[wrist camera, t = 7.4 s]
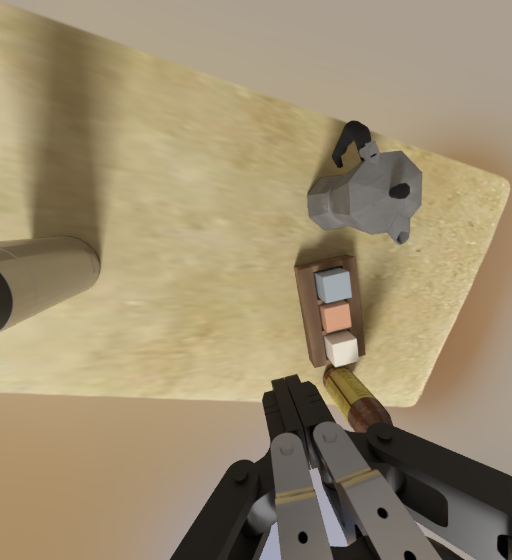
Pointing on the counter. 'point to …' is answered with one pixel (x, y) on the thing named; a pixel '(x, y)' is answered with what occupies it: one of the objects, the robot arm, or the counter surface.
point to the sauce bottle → (354, 399)
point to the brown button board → (311, 302)
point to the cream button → (341, 348)
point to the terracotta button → (335, 315)
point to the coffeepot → (368, 189)
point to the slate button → (333, 284)
